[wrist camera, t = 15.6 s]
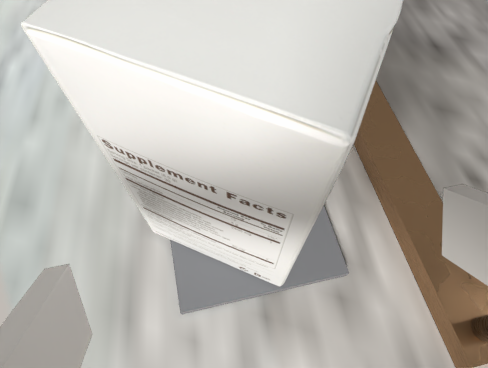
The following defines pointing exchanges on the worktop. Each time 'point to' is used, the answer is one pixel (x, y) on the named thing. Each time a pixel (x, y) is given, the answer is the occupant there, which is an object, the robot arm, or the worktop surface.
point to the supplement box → (221, 109)
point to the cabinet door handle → (423, 233)
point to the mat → (246, 285)
